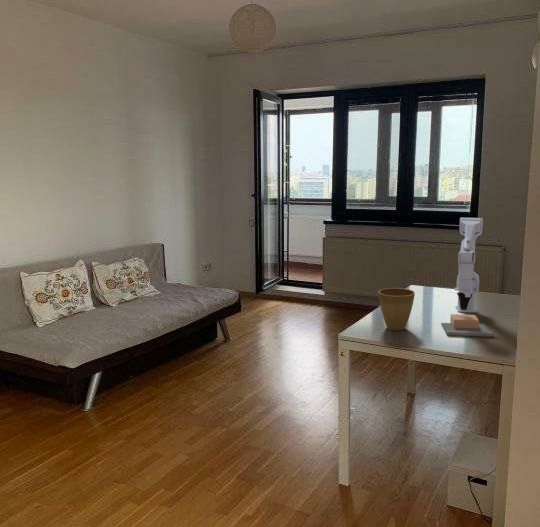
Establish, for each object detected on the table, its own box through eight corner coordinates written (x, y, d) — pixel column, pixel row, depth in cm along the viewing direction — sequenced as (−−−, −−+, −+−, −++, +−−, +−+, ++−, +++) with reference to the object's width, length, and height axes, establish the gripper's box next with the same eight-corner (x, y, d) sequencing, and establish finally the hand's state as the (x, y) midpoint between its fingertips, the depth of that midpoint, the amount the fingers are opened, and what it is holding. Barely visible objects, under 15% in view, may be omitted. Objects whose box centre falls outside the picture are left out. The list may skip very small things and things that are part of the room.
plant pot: (417, 325, 233) (419, 289, 230) (407, 335, 220) (408, 297, 217) (384, 321, 240) (385, 286, 237) (372, 330, 228) (373, 293, 225)
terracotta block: (450, 314, 235) (453, 319, 227) (474, 314, 233) (478, 320, 225) (450, 322, 235) (453, 327, 228) (474, 322, 234) (478, 328, 226)
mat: (441, 324, 235) (441, 320, 234) (484, 325, 232) (484, 321, 232) (447, 335, 219) (447, 331, 219) (493, 337, 217) (494, 333, 216)
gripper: (452, 274, 237) (450, 304, 240) (458, 282, 223) (456, 313, 226) (469, 275, 236) (467, 305, 239) (476, 282, 222) (474, 314, 225)
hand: (463, 309), depth 232 cm, fingers closed
